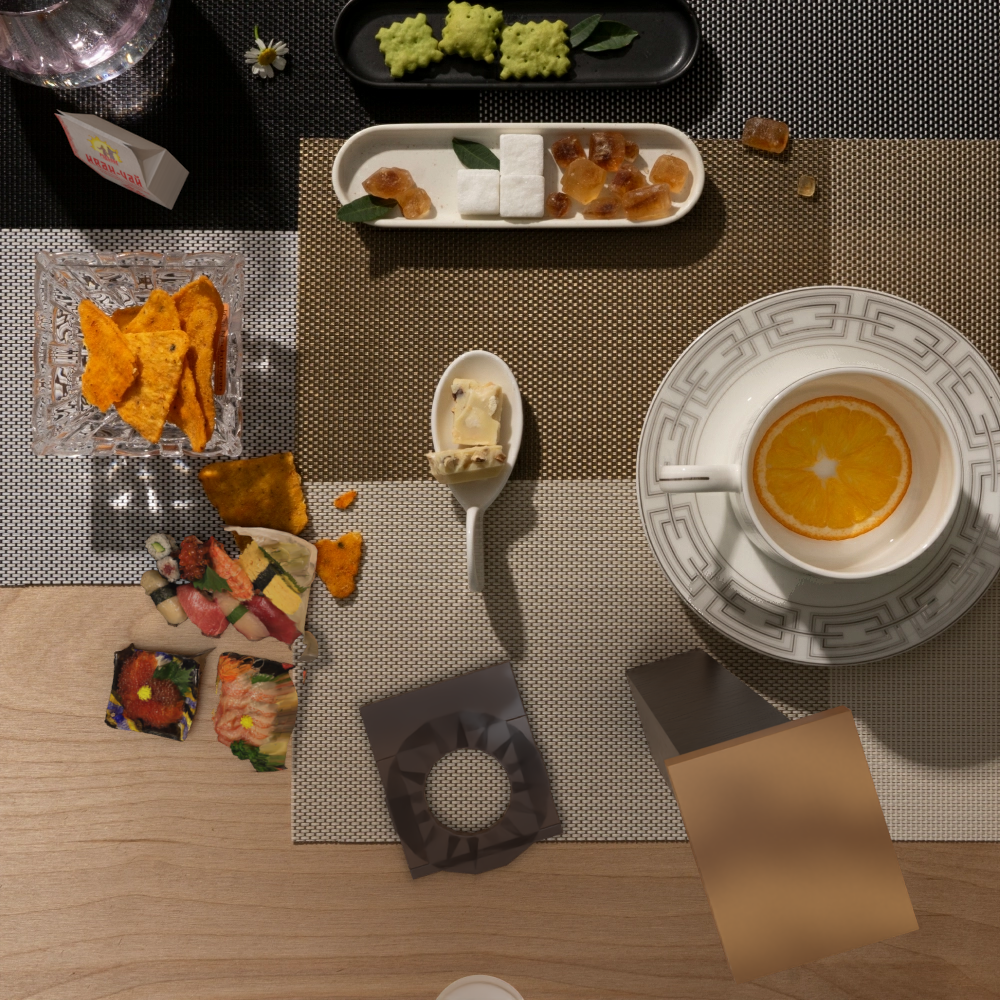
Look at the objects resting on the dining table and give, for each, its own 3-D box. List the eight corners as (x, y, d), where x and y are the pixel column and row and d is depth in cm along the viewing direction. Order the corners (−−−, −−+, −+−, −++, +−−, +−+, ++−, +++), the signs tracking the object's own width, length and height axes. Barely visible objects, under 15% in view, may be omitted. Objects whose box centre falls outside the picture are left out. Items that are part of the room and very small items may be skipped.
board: (568, 836, 71) (570, 846, 69) (417, 882, 71) (414, 894, 69) (511, 655, 71) (511, 660, 69) (360, 702, 71) (356, 708, 69)
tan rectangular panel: (910, 919, 41) (920, 929, 40) (730, 973, 42) (735, 985, 41) (843, 704, 41) (851, 709, 40) (663, 759, 42) (667, 766, 41)
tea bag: (128, 146, 71) (65, 89, 61) (194, 178, 71) (143, 125, 61) (111, 183, 71) (45, 131, 61) (177, 214, 71) (122, 168, 61)
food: (153, 501, 71) (134, 501, 67) (353, 543, 71) (345, 545, 67) (104, 737, 71) (83, 749, 68) (304, 779, 71) (293, 794, 67)
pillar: (722, 728, 70) (872, 891, 41) (648, 751, 71) (746, 930, 42) (696, 644, 70) (827, 748, 41) (622, 667, 71) (701, 787, 42)
